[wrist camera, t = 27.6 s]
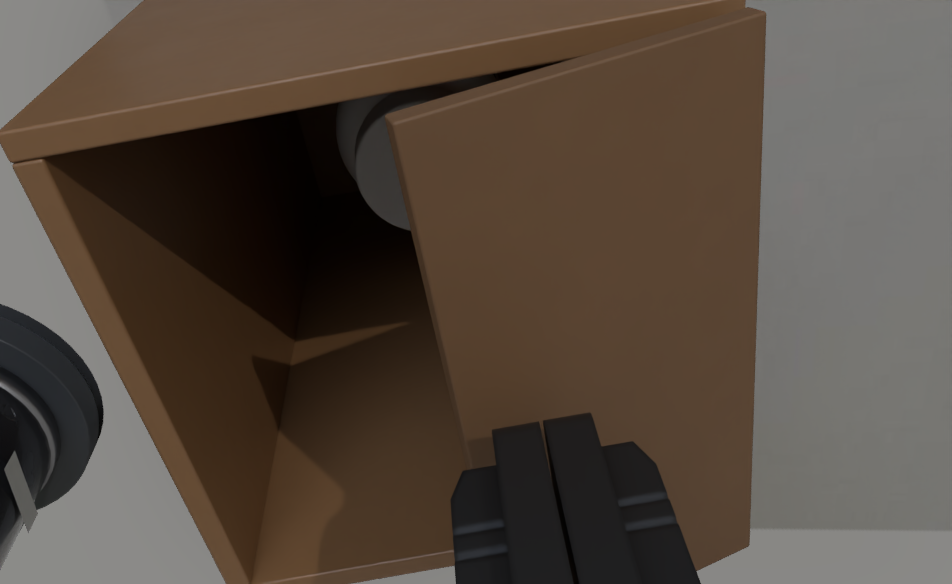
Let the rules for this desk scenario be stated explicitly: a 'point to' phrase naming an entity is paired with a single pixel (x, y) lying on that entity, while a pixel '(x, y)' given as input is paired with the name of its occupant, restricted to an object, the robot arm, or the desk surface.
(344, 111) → the pill bottle
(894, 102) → the desk surface
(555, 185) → the hatch
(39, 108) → the open wooden box
